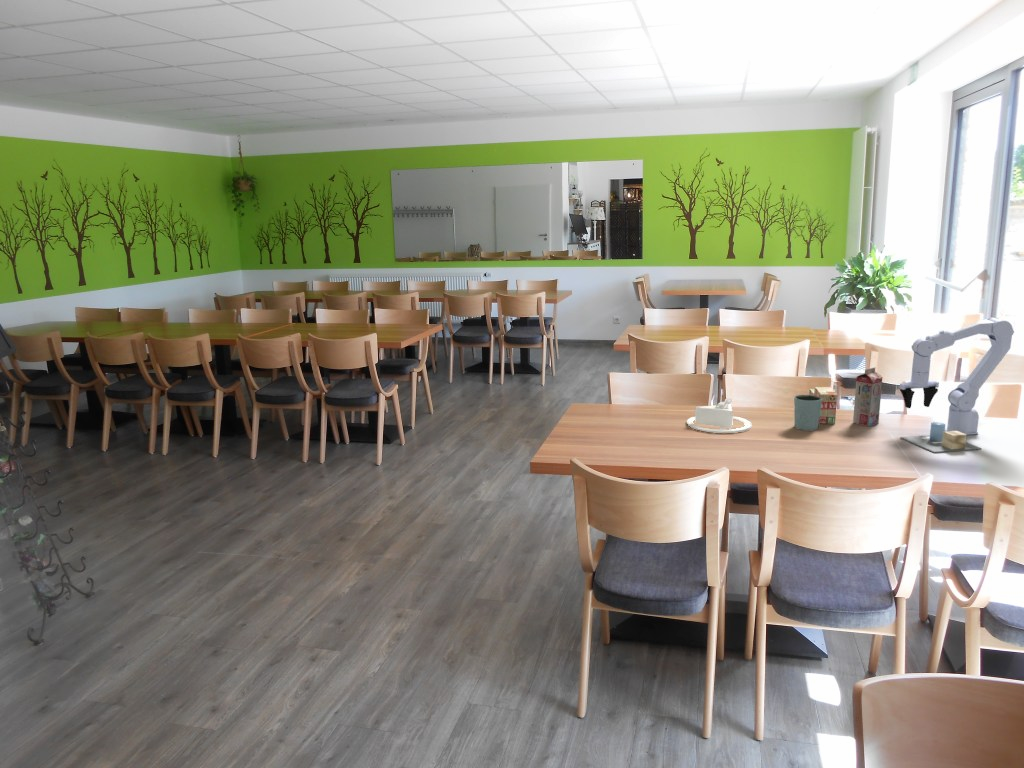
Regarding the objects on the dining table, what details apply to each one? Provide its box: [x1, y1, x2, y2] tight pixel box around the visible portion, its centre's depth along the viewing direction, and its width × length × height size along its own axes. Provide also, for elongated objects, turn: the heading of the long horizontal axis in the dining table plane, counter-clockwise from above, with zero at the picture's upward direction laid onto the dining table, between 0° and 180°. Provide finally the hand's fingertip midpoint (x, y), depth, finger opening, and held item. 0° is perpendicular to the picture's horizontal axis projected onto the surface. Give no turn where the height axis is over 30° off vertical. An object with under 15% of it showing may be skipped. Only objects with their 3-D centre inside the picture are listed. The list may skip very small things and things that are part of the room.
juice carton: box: [852, 367, 883, 427], centre depth 295 cm, size 7×7×22 cm
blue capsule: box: [929, 421, 946, 442], centre depth 272 cm, size 4×4×6 cm
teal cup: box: [793, 394, 822, 431], centre depth 293 cm, size 10×10×12 cm
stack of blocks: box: [808, 386, 838, 425], centre depth 307 cm, size 21×6×12 cm, turn 170°
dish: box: [686, 397, 753, 434], centre depth 299 cm, size 25×25×11 cm
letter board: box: [900, 434, 982, 454], centre depth 270 cm, size 18×18×1 cm
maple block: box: [942, 431, 967, 449], centre depth 264 cm, size 5×5×5 cm
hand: (917, 407), depth 284 cm, fingers open, 7 cm apart
